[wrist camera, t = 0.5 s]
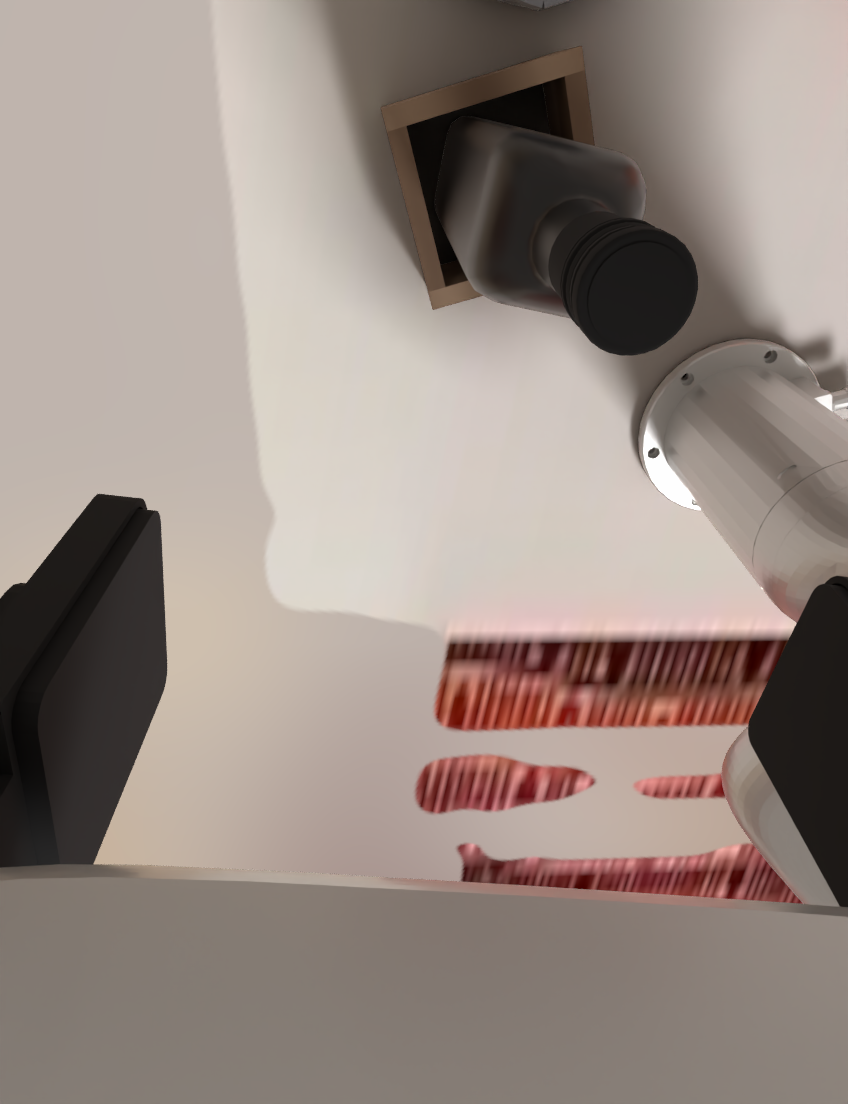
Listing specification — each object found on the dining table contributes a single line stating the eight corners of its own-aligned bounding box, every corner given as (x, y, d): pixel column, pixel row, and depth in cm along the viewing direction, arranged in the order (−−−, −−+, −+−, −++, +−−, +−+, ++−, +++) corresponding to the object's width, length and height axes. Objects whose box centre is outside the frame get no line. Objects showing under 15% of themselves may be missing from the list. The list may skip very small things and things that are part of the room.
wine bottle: (450, 110, 42) (561, 139, 16) (547, 133, 43) (796, 195, 17) (429, 218, 45) (497, 386, 19) (520, 238, 45) (700, 423, 20)
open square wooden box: (556, 51, 40) (581, 45, 35) (583, 240, 46) (608, 259, 41) (380, 107, 41) (381, 109, 36) (426, 286, 47) (432, 310, 42)
